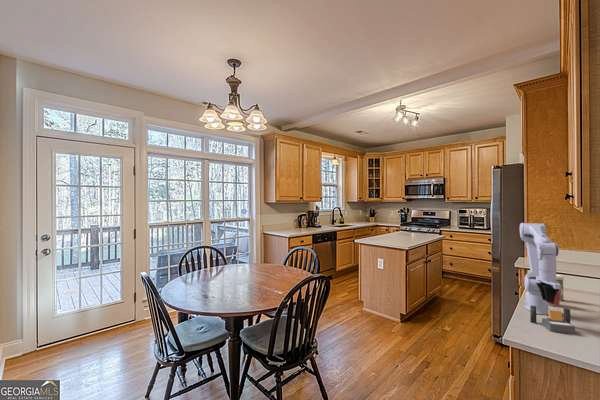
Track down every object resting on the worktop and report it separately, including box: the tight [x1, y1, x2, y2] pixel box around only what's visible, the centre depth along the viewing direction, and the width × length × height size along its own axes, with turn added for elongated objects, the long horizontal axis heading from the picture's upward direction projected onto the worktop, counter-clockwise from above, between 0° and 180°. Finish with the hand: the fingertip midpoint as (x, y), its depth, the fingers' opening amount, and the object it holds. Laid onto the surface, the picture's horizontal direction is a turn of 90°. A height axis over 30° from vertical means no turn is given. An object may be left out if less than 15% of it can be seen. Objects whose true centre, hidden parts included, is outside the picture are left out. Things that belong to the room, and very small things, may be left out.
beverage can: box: [548, 291, 561, 307], centre depth 143 cm, size 6×6×12 cm
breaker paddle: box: [548, 309, 564, 321], centre depth 115 cm, size 1×4×4 cm, turn 74°
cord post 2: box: [563, 308, 571, 324], centre depth 117 cm, size 2×2×7 cm
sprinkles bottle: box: [556, 274, 565, 302], centre depth 150 cm, size 5×5×14 cm
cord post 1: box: [529, 305, 537, 324], centre depth 121 cm, size 2×2×7 cm
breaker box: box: [541, 316, 576, 335], centre depth 114 cm, size 6×8×4 cm
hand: (547, 301), depth 120 cm, fingers open, 2 cm apart
